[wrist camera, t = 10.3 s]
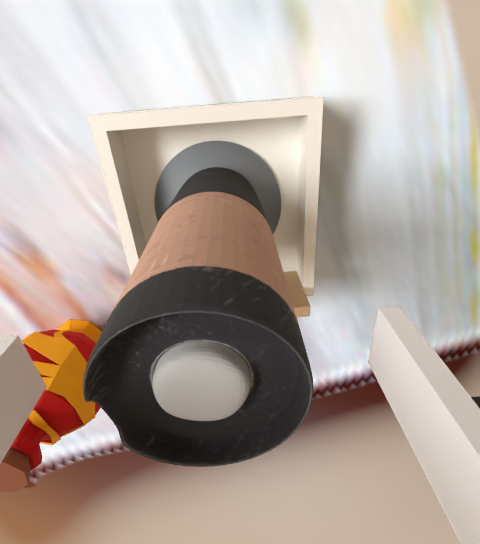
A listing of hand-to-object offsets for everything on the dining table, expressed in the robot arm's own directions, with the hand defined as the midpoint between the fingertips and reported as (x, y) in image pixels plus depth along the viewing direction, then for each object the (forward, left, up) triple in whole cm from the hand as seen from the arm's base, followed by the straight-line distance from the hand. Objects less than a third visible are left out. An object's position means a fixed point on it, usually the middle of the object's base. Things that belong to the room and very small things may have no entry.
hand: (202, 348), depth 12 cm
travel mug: (0, 0, -18) cm, 18 cm away
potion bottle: (+14, -17, -19) cm, 29 cm away
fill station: (0, 0, -19) cm, 19 cm away
